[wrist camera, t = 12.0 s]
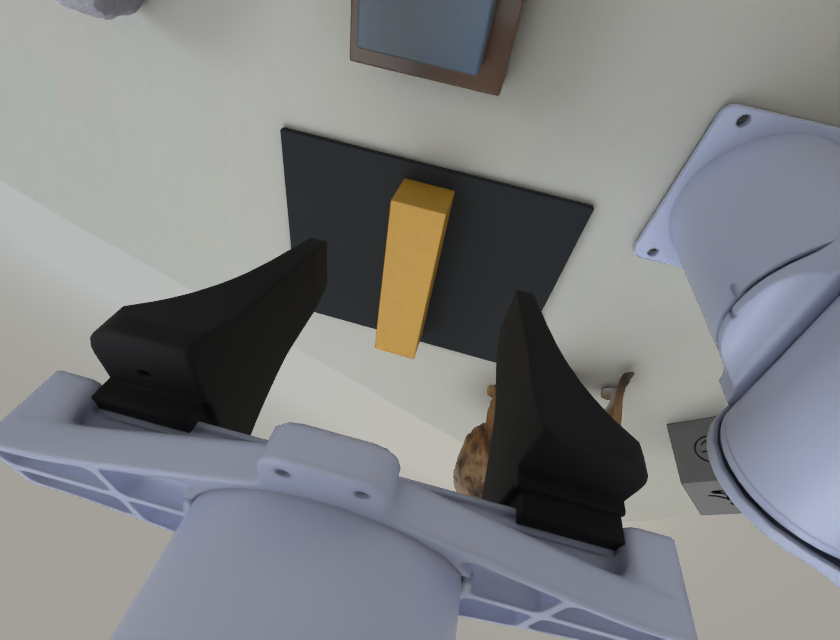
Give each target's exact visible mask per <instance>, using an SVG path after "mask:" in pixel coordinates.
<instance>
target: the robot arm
mask: <svg viewBox="0 0 840 640" xmlns="http://www.w3.org/2000/svg"><path fill="white" fill-rule="evenodd" d="M746 114H748V118H747V120H746V121H745V122H744V123H742V124H737V125H736V122H737V120H738V118H739V117H740V116H743V115H746ZM653 248H656V249H657V250H656V251H655V252H652V253H649V252H648V251H649V250H650V249H653ZM633 250H634V253H635V255H636V256H638V257H641V258H645V259H649V260H653V261H657V262H661V263H665V264H669V265H672V266H676V267H680V268H683V269H684V271H685V273H686V276H687V278H688V281H689V283H690V285H691V288H692V290H693V292H694V295H695V297H696V299H697V302H698V304H699V306H700V309H701V311H702V314H703V316H704V318H705V321H706V323H707V325H708V328H709V330H710V332H711V335H712V337H713V340H714V342H715V344H716V347H717V349H718V351H719V353H720V356H721V358H722V361H723V363H724V372H723V375H722V376H721V378H720V379H719V382H720V384H721V387H722V389H723V392H724V394H725V397H726V399H727V402H728V404H729V405H730V406H727V407H726V408H725V409H724V410H723V411H722V412H721V413H720V414H719V415H718V416H717V417H716V418H715V419H714V420H713V422H712V424H711V425H710V428H709V431H708V435H707V452H708V458H709V461H710V464H711V467H712V469H713V472H714V474H715V476H716V478H717V480H718V481H719V483H720V485H721V487H722V488H723V490H724V491H725V493H726V494H727V495H728V497H729V498H730V500H731V501H732V502H733V503H734V505H735V506H736V507H737V508H738V509H739V510H740V511H741V512H742V514H743V515H744V516H745V517H746V518H747V519H748V520H749V521H750V522H752V524H754V525H755V526H756V527H757V528H758V529H759V530H760V531H761V532H762V533H763V534H765V535H766V536H767V537H769V538H770V539H771V540H773V541H774V542H775V543H776V544H778V545H779V546H780V547H782V548H784V549H785V550H787V551H788V552H790V553H791V554H793V555H795V556H796V557H797V558H799V559H801V560H802V561H804V562H805V563H807V564H808V565H810V566H812V567H813V568H815V569H816V570H818V571H819V572H820V573H822V574H823V575H824V576H826V577H827V578H828V579H830V580H831V581H832V582H834V583H835V584H836V585H837V586H838V587H839V588H840V127H836V126H832V125H827V124H823V123H819V122H814V121H810V120H806V119H802V118H797V117H793V116H789V115H784V114H780V113H776V112H772V111H767V110H763V109H759V108H754V107H750V106H746V105H742V104H733V103H732V104H729V105H727V106H725V107H724V108H722V109H721V110H720V112H719V113H718V114H717V116H716V117H715V119H714V120H713V122H712V124H711V125H710V127H709V128H708V130H707V131H706V133H705V134H704V136H703V138H702V139H701V141H700V142H699V144H698V145H697V147H696V149H695V150H694V152H693V153H692V155H691V156H690V158H689V160H688V161H687V163H686V164H685V166H684V167H683V169H682V171H681V172H680V174H679V175H678V177H677V178H676V180H675V182H674V183H673V185H672V186H671V188H670V189H669V191H668V192H667V194H666V196H665V197H664V199H663V200H662V202H661V203H660V205H659V207H658V208H657V210H656V211H655V213H654V214H653V216H652V218H651V219H650V221H649V222H648V224H647V225H646V227H645V229H644V230H643V232H642V233H641V235H640V236H639V238H638V239H637V241H636V243H635V244H634V247H633ZM326 286H327V241H323V240H319V239H315V238H309V239H307V240H306V241H304V242H302V243H301V244H299V245H297V246H295V247H294V248H292V249H290V250H289V251H287V252H285V253H284V254H282V255H280V256H278V257H277V258H275V259H273V260H271V261H270V262H268V263H266V264H264V265H262V266H260V267H258V268H256V269H254V270H252V271H250V272H248V273H246V274H243V275H241V276H239V277H236V278H234V279H231V280H229V281H226V282H224V283H221V284H218V285H215V286H212V287H209V288H206V289H203V290H200V291H196V292H193V293H189V294H186V295H182V296H178V297H173V298H169V299H164V300H159V301H154V302H148V303H141V304H135V305H129V306H123V307H122V308H121V309H120V310H118V311H117V312H116V313H115V314H114V315H113V316H112V317H111V318H109V319H108V320H107V321H106V322H105V323H104V324H103V325H101V326H100V327H99V328H98V329H97V330H96V331H95V332H93V334H92V335H91V337H90V340H91V347H92V349H93V351H94V353H95V355H96V356H97V358H98V359H99V361H100V362H101V363H102V365H103V367H104V368H105V370H106V371H107V372H108V374H109V376H110V378H109V379H108V380H107V382H105V383H104V384H103V385H101V384H100V383H98V382H97V381H95V380H93V379H90V378H86V377H83V376H79V375H75V374H72V373H68V372H65V371H57V372H55V373H54V374H53V375H52V376H51V377H50V378H49V379H48V380H46V381H45V382H44V383H43V384H42V385H41V386H40V387H39V388H38V389H36V390H35V391H34V392H33V393H32V394H31V395H30V396H28V397H27V398H26V399H25V400H24V401H23V402H22V403H21V404H20V405H18V406H17V407H16V408H15V409H14V410H13V411H12V412H11V413H10V414H8V415H7V416H6V417H5V418H4V419H3V420H2V421H1V422H0V459H1V460H2V461H3V462H5V463H6V464H7V465H9V466H10V467H11V468H13V469H14V470H15V471H16V472H18V473H19V474H20V475H21V476H23V477H24V478H25V479H27V480H28V481H29V482H32V483H35V484H39V485H42V486H45V487H48V488H52V489H55V490H58V491H62V492H64V493H68V494H71V495H74V496H77V497H80V498H83V499H86V500H88V501H91V502H94V503H97V504H100V505H102V506H105V507H108V508H111V509H114V510H116V511H119V512H122V513H124V514H127V515H130V516H133V517H135V518H138V519H140V520H143V521H146V522H148V523H151V524H154V525H156V526H159V527H162V528H165V529H167V530H170V531H172V532H175V533H174V535H173V536H172V538H171V540H170V541H169V543H168V545H167V546H166V548H165V549H164V551H163V553H162V554H161V556H160V558H159V559H158V561H157V563H156V564H155V566H154V567H153V569H152V571H151V572H150V574H149V576H148V578H147V579H146V580H145V582H144V584H143V585H142V587H141V589H140V590H139V592H138V594H137V595H136V597H135V598H134V600H133V602H132V604H131V605H130V607H129V608H128V610H127V612H126V613H125V615H124V617H123V618H122V620H121V622H120V623H119V625H118V626H117V628H116V630H115V631H114V633H113V635H112V636H111V638H110V639H109V640H456V630H457V621H458V616H461V617H466V618H471V619H476V620H480V621H485V622H491V623H495V624H500V625H505V626H510V627H515V628H520V629H525V630H530V631H534V632H539V633H544V634H549V635H554V636H559V637H564V638H568V639H573V640H698V639H697V634H696V630H695V626H694V622H693V618H692V613H691V609H690V605H689V601H688V597H687V592H686V589H685V584H684V580H683V575H682V571H681V567H680V563H679V559H678V554H677V550H676V546H675V542H674V540H673V539H672V538H670V537H668V536H664V535H660V534H656V533H653V532H649V531H645V530H642V529H638V528H630V527H629V528H623V527H622V521H621V517H623V516H625V513H626V511H625V505H624V501H625V500H626V499H628V498H629V497H630V496H632V495H633V494H634V493H636V492H637V491H638V490H640V489H641V488H642V487H643V486H644V485H645V484H646V482H647V479H648V474H647V469H646V464H645V460H644V456H643V453H642V449H641V446H640V443H639V442H638V441H637V440H636V439H635V438H634V437H633V436H631V435H630V434H629V433H628V432H627V431H626V430H625V429H624V428H623V427H621V426H620V425H619V424H618V423H617V422H616V421H615V420H614V419H613V418H612V417H611V416H610V415H609V414H608V413H607V412H606V411H605V410H604V409H603V408H602V407H601V406H600V404H599V403H598V402H597V401H596V400H595V399H594V398H593V396H592V395H591V394H590V393H589V392H588V390H587V389H586V388H585V387H584V386H583V384H582V383H581V382H580V380H579V379H578V378H577V376H576V375H575V373H574V372H573V371H572V369H571V368H570V366H569V365H568V363H567V362H566V360H565V358H564V357H563V355H562V353H561V351H560V350H559V348H558V346H557V344H556V342H555V340H554V338H553V336H552V334H551V332H550V330H549V328H548V326H547V324H546V321H545V319H544V317H543V314H542V312H541V310H540V307H539V305H538V302H537V300H536V297H535V295H534V294H533V293H529V292H525V291H521V290H517V291H516V294H515V296H514V298H513V301H512V303H511V305H510V307H509V310H508V312H507V314H506V317H505V319H504V321H503V324H502V326H501V329H500V335H499V341H498V348H497V363H496V403H495V415H494V422H493V430H492V437H491V444H490V450H489V457H488V463H487V469H486V475H485V481H484V487H483V492H482V498H481V499H479V498H476V497H472V496H468V495H465V494H461V493H458V492H454V491H450V490H446V489H443V488H439V487H436V486H432V485H428V484H425V483H421V482H417V481H414V480H410V479H407V478H403V477H399V472H400V464H399V461H398V459H397V458H396V456H395V455H393V454H392V453H391V452H390V451H389V450H388V449H386V448H383V447H381V446H378V445H376V444H374V443H371V442H367V441H363V440H360V439H356V438H352V437H349V436H345V435H341V434H337V433H334V432H330V431H327V430H323V429H319V428H316V427H312V426H308V425H305V424H299V423H291V422H289V423H285V424H282V425H279V426H276V427H275V429H274V431H273V433H272V435H271V436H270V439H269V440H265V439H261V438H258V437H254V436H250V435H251V433H252V430H253V428H254V425H255V423H256V420H257V418H258V416H259V413H260V411H261V408H262V406H263V404H264V402H265V399H266V397H267V395H268V392H269V390H270V388H271V386H272V384H273V382H274V380H275V377H276V375H277V373H278V371H279V369H280V367H281V365H282V363H283V361H284V359H285V357H286V355H287V353H288V352H289V350H290V348H291V347H292V345H293V343H294V342H295V340H296V339H297V337H298V336H299V334H300V333H301V331H302V329H303V328H304V326H305V325H306V323H307V322H308V320H309V319H310V317H311V315H312V314H313V312H314V311H315V309H316V307H317V306H318V304H319V302H320V299H321V297H322V295H323V293H324V291H325V288H326ZM732 404H733V405H732Z"/></svg>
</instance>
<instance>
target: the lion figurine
mask: <svg viewBox="0 0 840 640" xmlns="http://www.w3.org/2000/svg"><path fill="white" fill-rule="evenodd" d="M633 375H634V372H628V373H624V374H623V375H622V376H621V378H620V380H619V382H618V385H617V389H615V388H604V389H603V390H602V391H601V397H602V398H604V399H606V400H610V403H609V405H608V406H607V407H606V409H604V410H605V411H606V412H607V413H608V414H609V415H610V416H611V417H612V418H613V419H614V420H615V421H616V422H617V423H618V424H619V425H620V426H621V418H622V402H623V395H624V391H625V388H626V386H627V385H628V383H629V382H630V379H631V378H632V377H633ZM487 394H488V395H489V396H490V397H493V398H492V400H491V403H490V406H489V409H488V412H487V420H486V423H482V424H481V425H480V426H477V427H475V428H474V429H473V430H472V432H471V433H469V434H468V435H467V436H466V439H465V441H464V444H463V446H462V448H461V451H460V453H459V456H458V459H457V462H456V466H455V470H454V476H453V477H454V485H455V489H456V491H457V492H458V493H461V494H465V495H468V496H472V497H476V498H479V499H481V498H482V492H483V487H484V481H485V475H486V469H487V463H488V457H489V450H490V444H491V437H492V430H493V422H494V415H495V403H496V387H495V386H489V387H488V388H487Z"/></svg>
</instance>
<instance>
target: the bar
mask: <svg viewBox="0 0 840 640" xmlns="http://www.w3.org/2000/svg"><path fill="white" fill-rule="evenodd" d="M454 193H455V191H453V190H449V189H445V188H441V187H437V186H433V185H429V184H425V183H422V182H418V181H414V180H410V179H406V178H404V180H403V182H402V183H401V185H400V187H399V188H398V190H397V192H396V193H395V195H394V196H393V198H392V200H391V206H390V215H389V224H388V233H387V242H386V251H385V260H384V269H383V278H382V287H381V296H380V306H379V315H378V324H377V333H376V342H375V348H376V349H380V350H383V351H387V352H390V353H394V354H398V355H401V356H405V357H408V358H412V359H414V358H415V354H416V351H417V348H418V345H419V342H420V339H421V336H422V332H423V328H424V324H425V319H426V315H427V311H428V306H429V302H430V298H431V293H432V289H433V285H434V280H435V276H436V272H437V267H438V263H439V259H440V254H441V250H442V246H443V241H444V237H445V233H446V228H447V224H448V220H449V215H450V211H451V206H452V202H453V198H454Z"/></svg>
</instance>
